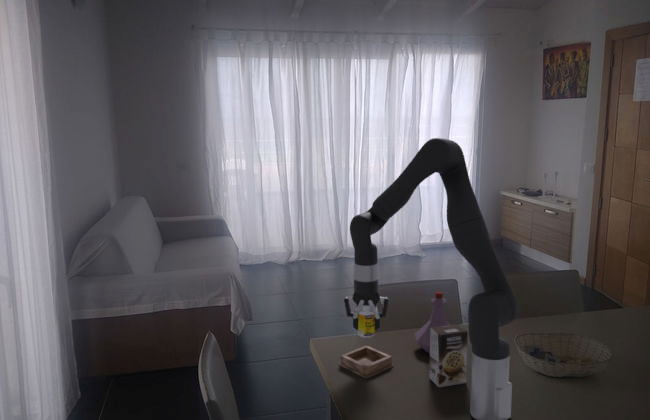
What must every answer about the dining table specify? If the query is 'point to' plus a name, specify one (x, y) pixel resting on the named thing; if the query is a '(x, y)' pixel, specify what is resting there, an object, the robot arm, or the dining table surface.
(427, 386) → the dining table surface
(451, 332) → the coffee box
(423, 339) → the flask
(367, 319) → the supplement bottle
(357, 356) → the walnut collar stand
